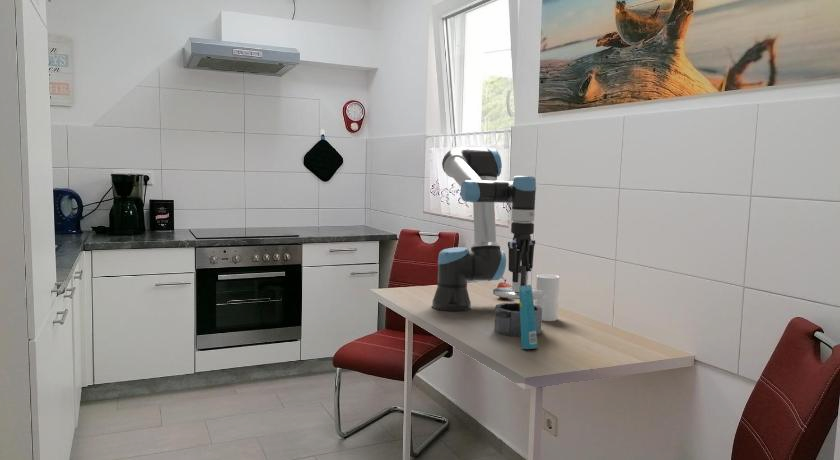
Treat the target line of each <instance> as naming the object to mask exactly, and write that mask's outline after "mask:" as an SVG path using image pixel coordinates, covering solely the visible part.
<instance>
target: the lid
mask: <svg viewBox="0 0 840 460" xmlns="http://www.w3.org/2000/svg"><path fill="white" fill-rule="evenodd" d="M519 273H521V283H520V286H525V282H526V265H521V264H520V271H519ZM531 288H532V287H531ZM492 294H493V295H495V296H497V297H499V296H500V297H504V298H508V299H512V300H520V299H519V292H514V291H512V287H500V288H497V287H496V288H494V289H493V290H492ZM532 294H533V300H536V299H542V298H545V297H546V296H547V293H546V292H545V291H542V290H538V289H536V288H532ZM500 297H499V298H500Z"/></svg>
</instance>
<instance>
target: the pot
mask: <svg viewBox="0 0 840 460" xmlns="http://www.w3.org/2000/svg"><path fill="white" fill-rule="evenodd" d="M534 312H535V322H536V333H537V336H540V335H542V322H543V321H542V308H541V307H540V306H537V305H535V304H534ZM493 327H494V329H493V330H494V331H495V332H496V333H498V334H500V335H504V336H509V337H516V338H517V337H520V338H521V322H520V302H501V303H497V304H496V305H495V307H494V326H493Z"/></svg>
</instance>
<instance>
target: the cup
mask: <svg viewBox="0 0 840 460" xmlns="http://www.w3.org/2000/svg"><path fill="white" fill-rule="evenodd" d="M535 283H536V284H535V289H538V290H542V291H545V292H546V293H547V296H546V297H545V298H542V299H535V303H534V305H537V306H540V307H541V308H542V322H543V321H544V322H555V321H557V320H558V313H559V291H560V276H559V275H556V274H551V273H550V274H549V273H547V274H546V273H545V274H544V273H541V274H536V281H535Z"/></svg>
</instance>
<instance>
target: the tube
mask: <svg viewBox="0 0 840 460" xmlns="http://www.w3.org/2000/svg"><path fill="white" fill-rule="evenodd" d="M518 300H519V303H520V322H521V337H520V339H521V342H520V343H521V349H523V350H531V349H537V348H538V335H537V333H536V322H535V312H534V305H535V303H534V299H533V294H532V284H527V285H526V286H519V299H518Z"/></svg>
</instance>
